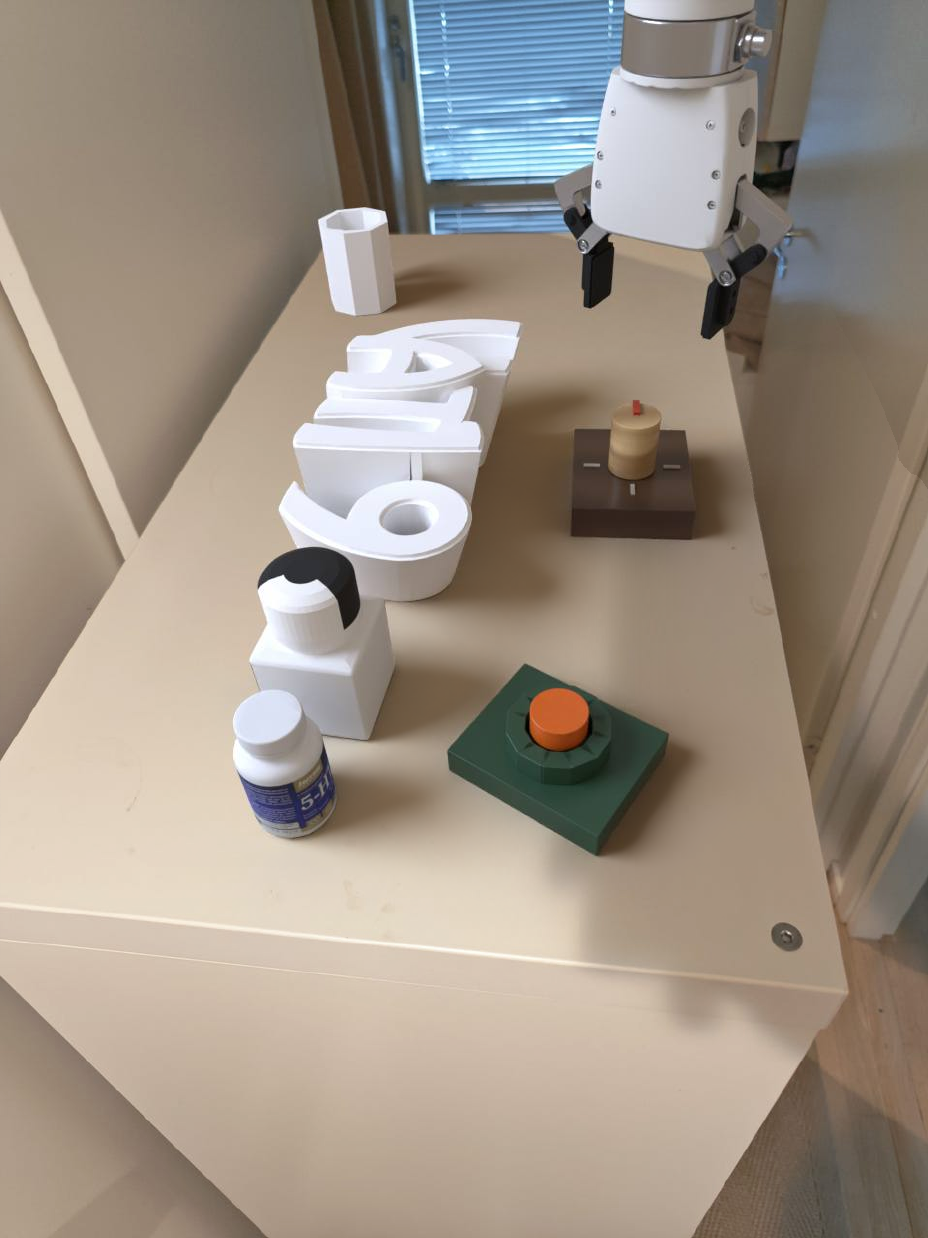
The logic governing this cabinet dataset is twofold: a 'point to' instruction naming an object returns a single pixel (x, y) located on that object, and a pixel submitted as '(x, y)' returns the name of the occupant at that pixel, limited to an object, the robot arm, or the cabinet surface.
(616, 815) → the green push button box
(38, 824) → the cabinet surface
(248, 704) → the pill bottle
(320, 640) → the block figurine
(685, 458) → the hob panel
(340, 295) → the white octagonal cup
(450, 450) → the white lettered block
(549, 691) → the button
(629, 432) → the knob
